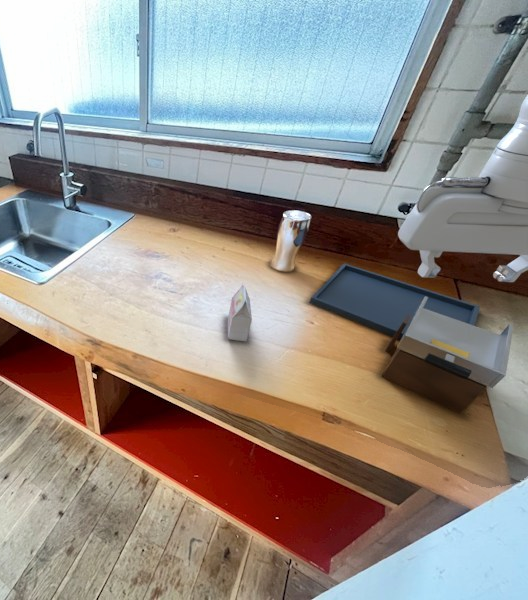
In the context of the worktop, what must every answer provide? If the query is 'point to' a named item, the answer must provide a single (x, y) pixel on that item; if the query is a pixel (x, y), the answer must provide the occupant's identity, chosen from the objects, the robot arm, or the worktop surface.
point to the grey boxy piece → (239, 316)
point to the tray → (384, 300)
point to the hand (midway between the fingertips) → (462, 277)
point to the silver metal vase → (290, 239)
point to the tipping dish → (458, 346)
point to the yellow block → (450, 348)
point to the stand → (430, 378)
